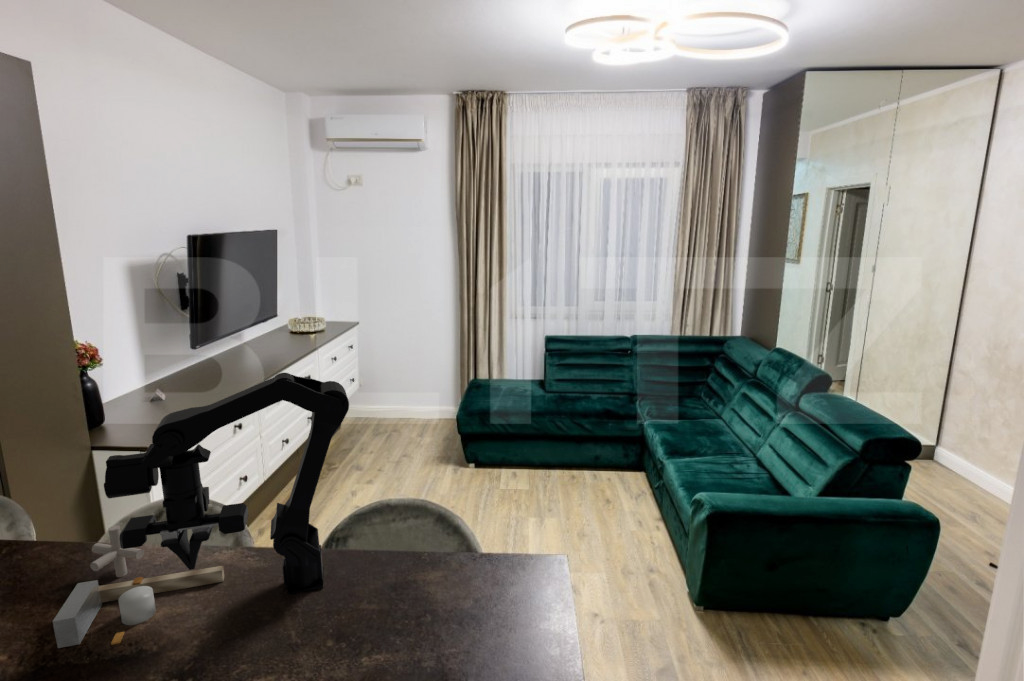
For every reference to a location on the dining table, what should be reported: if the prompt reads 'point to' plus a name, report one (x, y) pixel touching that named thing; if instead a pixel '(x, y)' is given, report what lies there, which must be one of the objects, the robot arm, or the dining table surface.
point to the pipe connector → (114, 553)
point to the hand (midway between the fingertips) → (192, 568)
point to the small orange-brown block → (117, 638)
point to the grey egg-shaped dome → (137, 605)
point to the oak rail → (164, 582)
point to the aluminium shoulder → (77, 614)
